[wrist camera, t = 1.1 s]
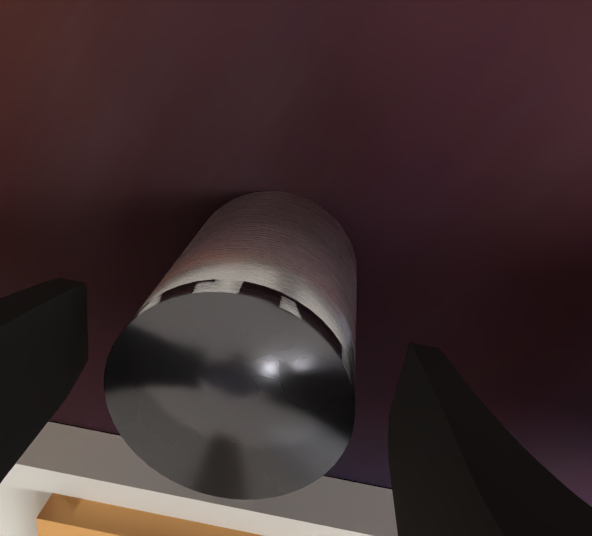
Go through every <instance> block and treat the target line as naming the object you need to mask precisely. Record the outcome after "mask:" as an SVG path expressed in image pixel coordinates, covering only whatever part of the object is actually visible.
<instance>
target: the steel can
mask: <svg viewBox="0 0 592 536" xmlns="http://www.w3.org/2000/svg"><path fill="white" fill-rule="evenodd" d="M356 297H357V263H356V257H355V253H354V249H353V246H352V244H351V242H350V239H349V237H348V235H347V234H346V232H345V231H344V229H343V227H342V226H341V225H340V224H339V223H338V221H337V220H336V219H335V218H334V217H333V216H332V215H331V214H330V213H329V212H327V211H326V210H325V209H323V208H322V207H321V206H319V205H318V204H316V203H314V202H312V201H310V200H308V199H306V198H303V197H301V196H298V195H295V194H291V193H287V192H279V191H260V192H253V193H249V194H246V195H242V196H240V197H237V198H235V199H233V200H231V201H229V202H227V203H226V204H224V205H223V206H221V207H220V208H219V209H218V210H216V211H215V212H214V213H213V214H212V215H211V217H210V218H209V219H208V220H207V221H206V223H205V224H204V225H203V226H202V228H201V229H200V230H199V232H198V233H197V234H196V236H195V237H194V238H193V240H192V241H191V242H190V243H189V245H188V246H187V247H186V249H185V250H184V251H183V253H182V254H181V255H180V257H179V258H178V259H177V261H176V262H175V263H174V264H173V266H172V267H171V268H170V270H169V271H168V272H167V274H166V275H165V276H164V278H163V279H162V280H161V281H160V283H159V284H158V285H157V287H156V288H155V289H154V291H153V292H152V293H151V295H150V296H149V297H148V298H147V300H146V301H145V302H144V304H143V305H142V306H141V308H140V309H139V310H138V312H137V313H136V314H135V315H134V317H133V318H132V319H131V321H130V322H129V323H128V325H127V326H126V327H125V329H124V330H123V331H122V332H121V334H120V335H119V337H118V338H117V340H116V341H115V343H114V345H113V347H112V349H111V351H110V353H109V356H108V359H107V363H106V367H105V373H104V392H105V399H106V403H107V407H108V411H109V413H110V416H111V418H112V421H113V423H114V425H115V426H116V428H117V430H118V432H119V434H120V435H121V436H122V438H123V439H124V441H125V442H126V443H127V445H128V446H129V447H130V448H131V449H132V450H133V451H134V453H135V454H136V455H137V456H138V457H139V458H140V459H142V460H143V461H144V462H145V463H146V464H147V465H148V466H150V467H151V468H153V469H154V470H155V471H157V472H158V473H160V474H161V475H163V476H164V477H166V478H168V479H170V480H171V481H173V482H175V483H177V484H179V485H182V486H184V487H186V488H188V489H191V490H194V491H197V492H200V493H203V494H207V495H211V496H215V497H221V498H228V499H239V500H255V499H266V498H273V497H278V496H281V495H285V494H289V493H292V492H294V491H297V490H299V489H302V488H304V487H306V486H308V485H309V484H311V483H313V482H315V481H316V480H317V479H319V478H320V477H322V476H323V475H324V474H325V473H327V472H328V471H329V470H330V469H331V468H332V467H333V466H334V465H335V463H336V462H337V461H338V460H339V458H340V457H341V456H342V454H343V452H344V450H345V448H346V447H347V445H348V442H349V440H350V437H351V434H352V430H353V424H354V416H355V356H356Z"/></svg>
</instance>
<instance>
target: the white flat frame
mask: <svg viewBox="0 0 592 536" xmlns="http://www.w3.org/2000/svg"><path fill="white" fill-rule="evenodd" d="M0 536H398V533H397V525H396V517H395V509H394V501H393V493H392V489H387V488H381V487H376V486H371V485H366V484H361V483H356V482H351V481H346V480H341V479H336V478H331V477H326V476H322V477H320V478H319V479H317V480H316V481H315V482H313V483H311V484H309V485H308V486H306V487H304V488H302V489H299V490H297V491H294V492H292V493H289V494H285V495H281V496H278V497H273V498H266V499H255V500H239V499H228V498H221V497H215V496H211V495H207V494H203V493H200V492H197V491H194V490H191V489H188V488H186V487H184V486H182V485H179V484H177V483H175V482H173V481H171V480H170V479H168V478H166V477H164V476H163V475H161V474H160V473H158V472H157V471H155V470H154V469H153V468H151V467H150V466H148V465H147V464H146V463H145V462H144V461H143V460H142V459H140V458H139V457H138V456H137V455H136V454H135V453H134V451H133V450H132V449H131V448H130V447H129V446H128V445H127V443H126V442H125V441H124V439H123V438H122V436H119V435H114V434H109V433H104V432H99V431H93V430H88V429H83V428H78V427H73V426H68V425H63V424H58V423H53V422H48V423H47V424H46V425H45V426H44V428H43V429H42V430H41V432H40V433H39V434H38V435H37V437H36V438H35V439H34V441H33V442H32V443H31V444H30V446H29V447H28V448H27V450H26V451H25V452H24V453H23V455H22V456H21V457H20V459H19V460H18V461H17V462H16V464H15V465H14V466H13V468H12V469H11V470H10V471H9V473H8V474H7V475H6V477H5V478H4V479H3V481H2V482H1V483H0Z"/></svg>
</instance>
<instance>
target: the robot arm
mask: <svg viewBox="0 0 592 536" xmlns="http://www.w3.org/2000/svg"><path fill="white" fill-rule="evenodd" d="M87 361H88V332H87V289H86V283H83V282H78V281H73V280H67V279H62V278H58V279H54V280H51V281H47V282H44V283H41V284H38V285H36V286H33V287H30V288H27V289H24V290H22V291H19V292H16V293H14V294H11V295H8V296H6V297H3V298H0V483H1V482H2V481H3V479H4V478H5V477H6V475H7V474H8V473H9V471H10V470H11V469H12V468H13V466H14V465H15V464H16V462H17V461H18V460H19V459H20V457H21V456H22V455H23V453H24V452H25V451H26V450H27V448H28V447H29V446H30V444H31V443H32V442H33V441H34V439H35V438H36V437H37V435H38V434H39V433H40V432H41V430H42V429H43V428H44V426H45V425H46V424H47V423H48V421H49V420H50V419H51V417H52V416H53V415H54V413H55V412H56V411H57V409H58V408H59V407H60V405H61V404H62V403H63V401H64V400H65V399H66V397H67V396H68V394H69V393H70V391H71V389H72V387H73V386H74V384H75V382H76V381H77V379H78V377H79V375H80V373H81V372H82V370H83V368H84V366H85V364H86V362H87ZM388 458H389V467H390V476H391V484H392V493H393V501H394V509H395V517H396V525H397V533H398V536H592V507H591V506H589V505H588V504H587V503H585V502H584V501H583V500H582V499H580V498H579V497H578V496H577V495H575V494H574V493H573V492H572V491H571V490H569V489H568V488H567V487H566V486H565V485H563V484H562V483H561V482H560V481H559V480H558V479H557V478H556V477H555V476H553V475H552V474H551V473H550V472H549V471H548V470H547V469H546V468H545V467H544V466H542V465H541V464H540V463H539V462H538V461H537V460H536V459H535V458H534V457H533V456H532V455H531V454H530V453H529V452H528V451H526V450H525V449H524V448H523V447H522V446H521V445H520V443H519V442H518V441H517V440H516V439H515V438H514V437H513V436H512V435H511V434H510V433H509V432H508V431H507V430H506V429H505V428H504V427H503V426H502V424H501V423H500V422H499V421H498V420H497V419H496V418H495V417H494V416H493V414H492V413H491V412H490V411H489V410H488V409H487V407H486V406H485V405H484V404H483V403H482V402H481V400H480V399H479V398H478V397H477V396H476V394H475V393H474V392H473V391H472V389H471V388H470V387H469V386H468V385H467V383H466V382H465V381H464V380H463V378H462V377H461V376H460V374H459V373H458V372H457V371H456V369H455V368H454V367H453V366H452V364H451V363H450V362H449V360H448V359H447V358H446V357H445V355H444V354H443V353H442V352H441V351H440V350H439V348H436V347H430V346H425V345H419V344H414V343H410V345H409V348H408V352H407V355H406V359H405V362H404V365H403V369H402V372H401V376H400V379H399V383H398V386H397V390H396V393H395V397H394V400H393V403H392V407H391V410H390V414H389V436H388Z"/></svg>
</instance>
